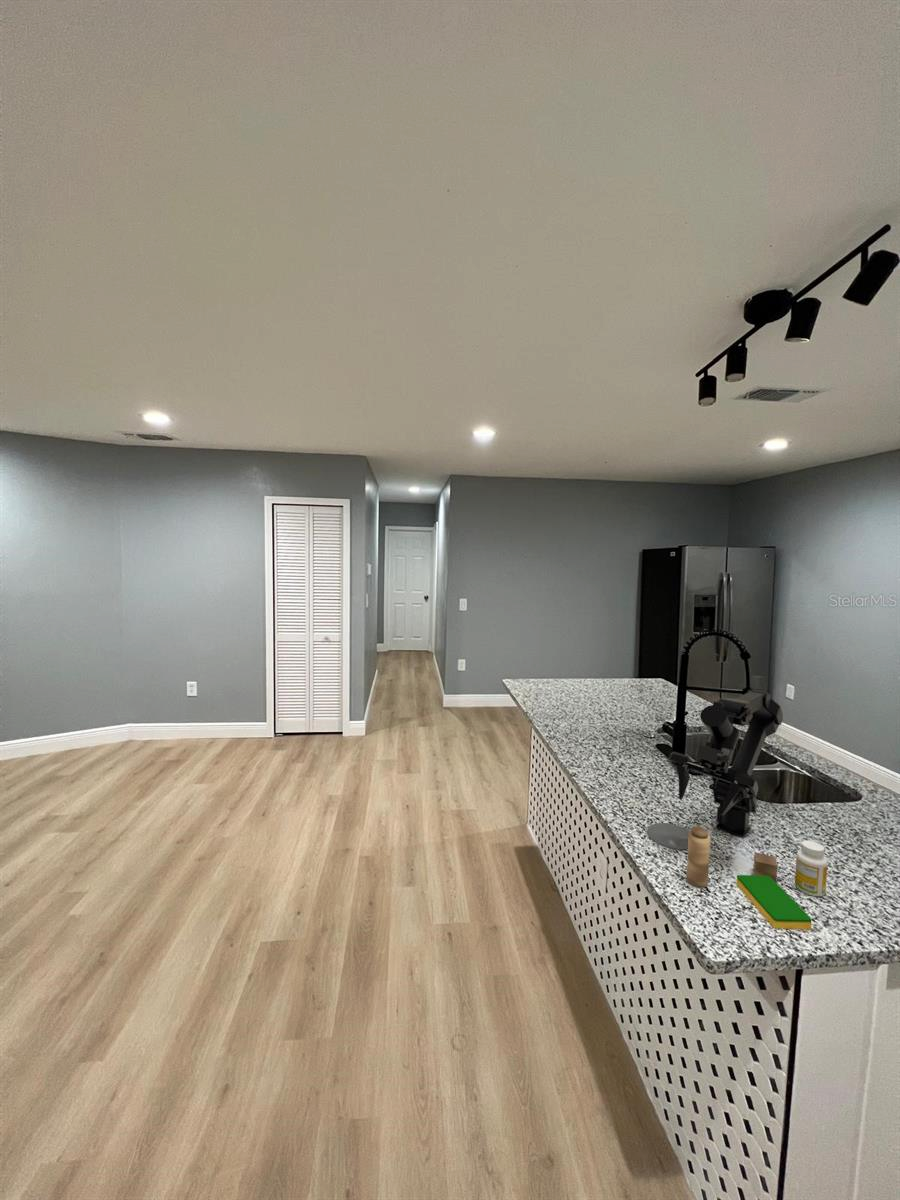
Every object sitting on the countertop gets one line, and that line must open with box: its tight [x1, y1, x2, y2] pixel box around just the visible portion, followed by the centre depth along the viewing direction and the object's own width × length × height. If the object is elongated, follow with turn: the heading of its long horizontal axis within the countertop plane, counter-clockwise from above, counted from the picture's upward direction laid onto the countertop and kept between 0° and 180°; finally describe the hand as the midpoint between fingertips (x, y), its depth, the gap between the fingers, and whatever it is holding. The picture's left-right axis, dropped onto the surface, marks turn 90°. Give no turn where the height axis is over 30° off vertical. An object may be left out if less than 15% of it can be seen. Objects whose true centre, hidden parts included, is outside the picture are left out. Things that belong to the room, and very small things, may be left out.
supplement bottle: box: [794, 840, 828, 897], centre depth 110 cm, size 5×5×10 cm
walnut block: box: [753, 851, 778, 883], centre depth 115 cm, size 4×4×4 cm
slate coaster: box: [646, 822, 691, 851], centre depth 131 cm, size 12×12×1 cm
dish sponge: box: [736, 874, 813, 930], centre depth 105 cm, size 7×14×2 cm, turn 179°
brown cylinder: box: [686, 826, 711, 888], centre depth 112 cm, size 4×4×12 cm
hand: (700, 806), depth 120 cm, fingers open, 9 cm apart
